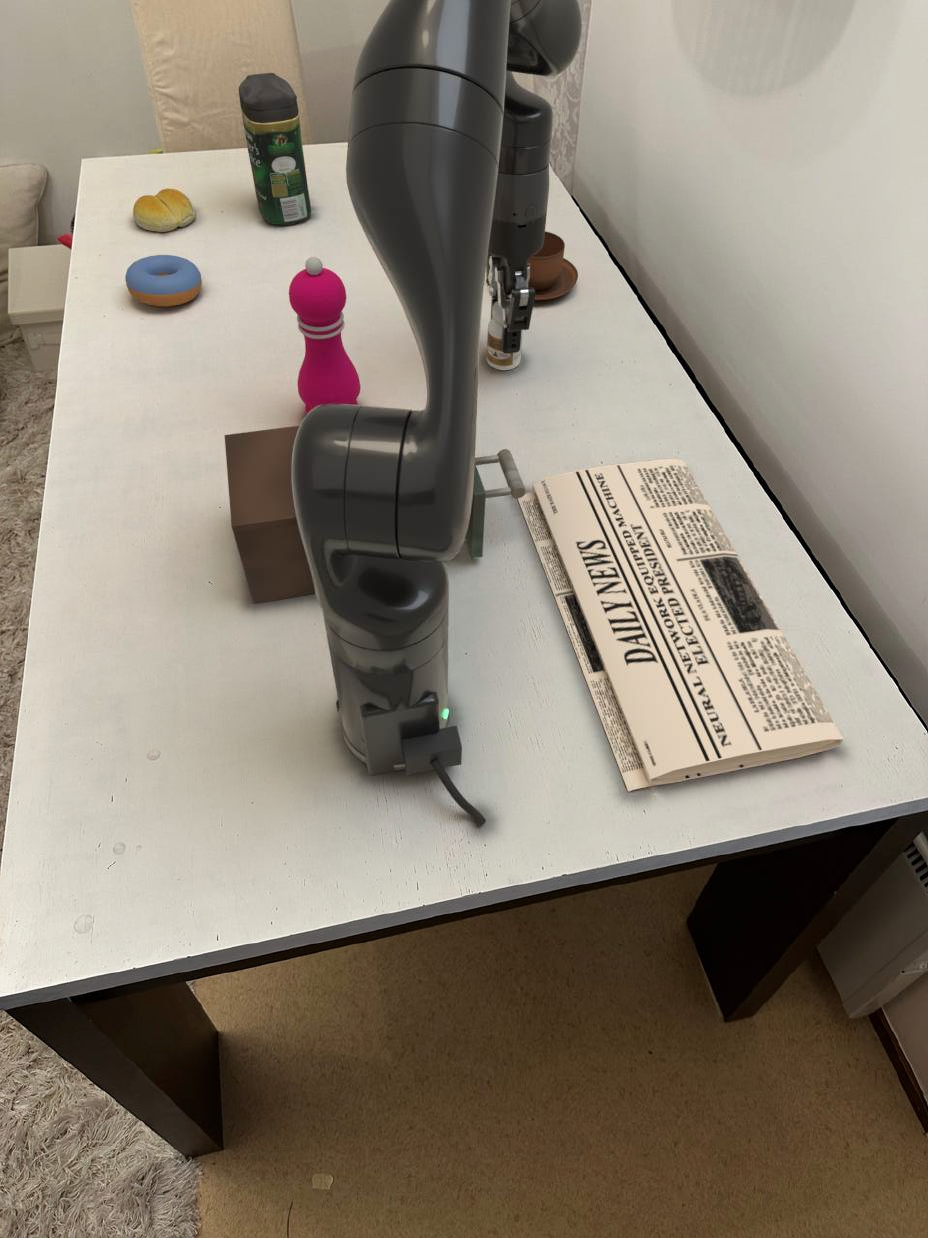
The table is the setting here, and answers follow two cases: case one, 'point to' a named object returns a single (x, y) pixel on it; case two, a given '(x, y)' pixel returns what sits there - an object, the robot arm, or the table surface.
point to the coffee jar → (275, 148)
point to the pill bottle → (499, 343)
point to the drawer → (480, 494)
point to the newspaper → (670, 626)
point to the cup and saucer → (551, 269)
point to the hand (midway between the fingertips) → (504, 337)
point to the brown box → (266, 514)
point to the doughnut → (163, 280)
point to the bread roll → (163, 211)
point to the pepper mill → (322, 337)
